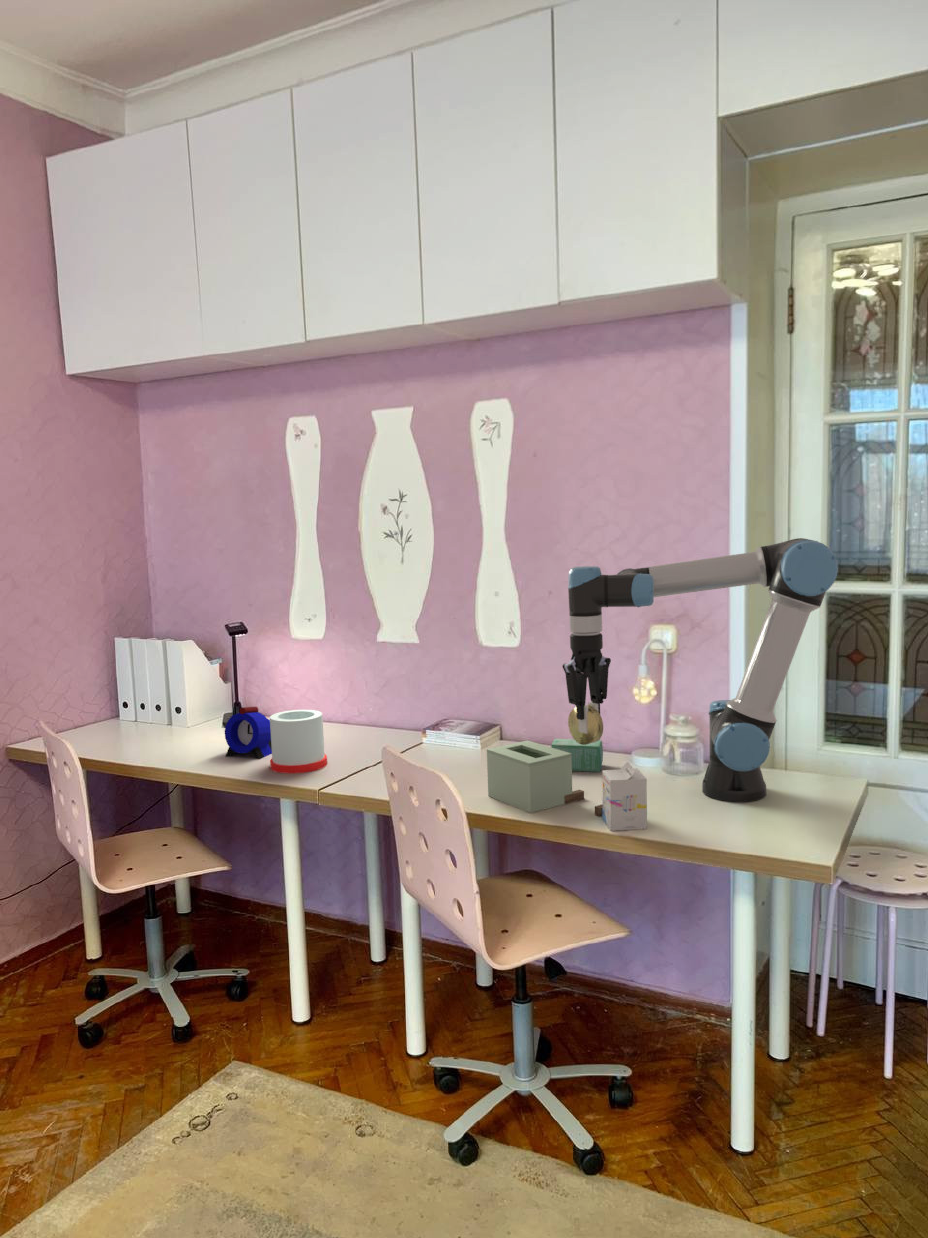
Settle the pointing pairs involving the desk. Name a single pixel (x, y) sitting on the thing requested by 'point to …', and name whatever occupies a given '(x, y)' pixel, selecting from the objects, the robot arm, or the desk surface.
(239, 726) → the alarm clock
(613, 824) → the ink box
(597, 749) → the box
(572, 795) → the cradle
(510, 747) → the box
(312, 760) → the container
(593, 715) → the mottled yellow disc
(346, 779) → the desk surface
